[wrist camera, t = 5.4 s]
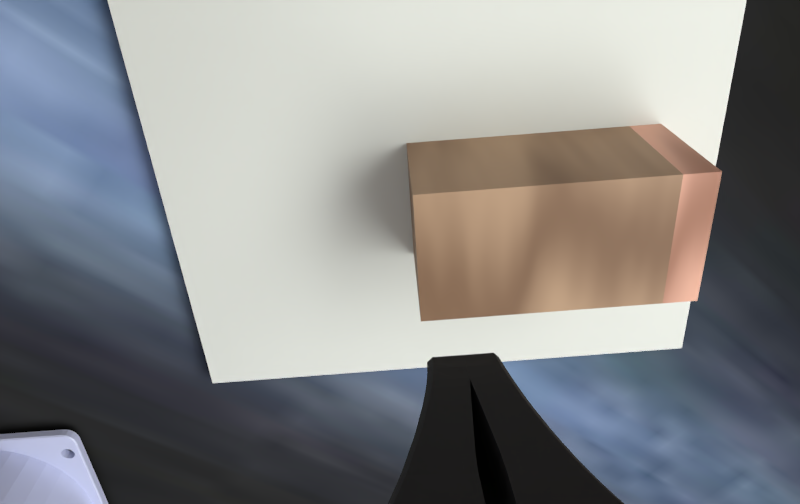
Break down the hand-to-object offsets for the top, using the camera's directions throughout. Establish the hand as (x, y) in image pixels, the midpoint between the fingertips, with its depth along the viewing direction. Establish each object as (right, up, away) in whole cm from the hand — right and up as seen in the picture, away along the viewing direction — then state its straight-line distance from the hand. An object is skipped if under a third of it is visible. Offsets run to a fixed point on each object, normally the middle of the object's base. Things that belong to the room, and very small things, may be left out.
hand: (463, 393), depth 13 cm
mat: (0, +5, +9) cm, 10 cm away
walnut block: (-1, +4, +6) cm, 7 cm away
